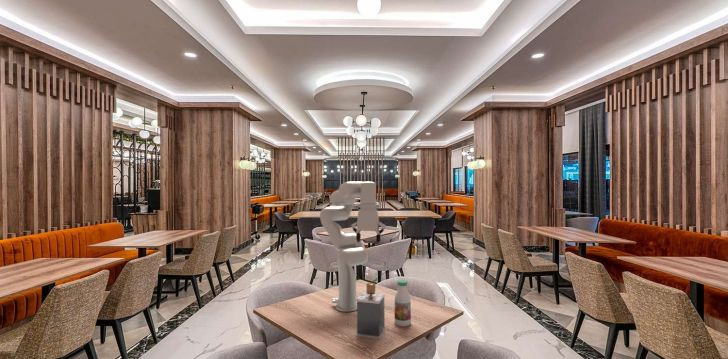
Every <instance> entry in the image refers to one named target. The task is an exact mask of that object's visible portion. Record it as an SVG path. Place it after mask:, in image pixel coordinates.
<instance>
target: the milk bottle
mask: <svg viewBox="0 0 728 359" xmlns="http://www.w3.org/2000/svg"><path fill="white" fill-rule="evenodd" d="M396 290H397V291H396V293H395V295H394V324H395V325H396V326H398V327H409V326H410V325H411V322H412V309H411V308H412V307H411V302H412V301H411V296H410V293H409V291H408V281H407V280H405V279H404V280H403V279H399V280H398V281H397V289H396Z"/></svg>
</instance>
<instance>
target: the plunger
mask: <svg viewBox="0 0 728 359" xmlns="http://www.w3.org/2000/svg"><path fill="white" fill-rule="evenodd" d="M366 292H367V294H369V295H370V297H372V295H373V294H375V293H376V283H375V282H367V283H366Z"/></svg>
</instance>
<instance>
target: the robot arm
mask: <svg viewBox="0 0 728 359" xmlns="http://www.w3.org/2000/svg"><path fill="white" fill-rule="evenodd" d="M376 188H377V186H376V182H374V181H346V182H343V183H341V184H340V185H339V186H338V189H337V190H335V191H332V193H331V194H330V196H329V201H330V204H332V205H334V206H326V207H324V208H322V209H321V210H320V213H319V219H320V222H321V225H322V227H323V229H324V230H325V232H326V233H327V234H328V236H329V239H330V241H331V244H332V246H333V248H334V249H335V250H336V251H338V252H337V254H336V261H337V262H336V263H337V268H338V270H337V271H338V298H336V297H332V299H331V302H332V304H335V309H336V310H337V311H339V312H345V313H348V312H349V313H351V312H355V311H357V301H356V299H357V273H356V271H355V270H354V268H353V267H355V266H356V267H357V266H361V265H364V264H366V263H367V262H368V260H369V254H368V251H367V249H366V247H365V244H364V243H363V241H362V238H361V236H362V235H361V232H362V231H363V232H366V231H367V232H375V233H376V235H375V236H376V237H375V238H376V239H375V240H376V244H379V243H380V242H381V234H382V233H383V232H384V231H385V229H386V227H387V225H385V224H384V223H382V222H381V221H379V220H380V219H379V213H378V209H377V203H376V202H377V201H376V200H377V198H376V197H377V189H376ZM356 197H360V203H359V204H357V207H358V208H359V209H358V212H357V221H355V222H353V223H352V224H350V226H351V229H352V231H353V232H344V230H343V227H341V225H340V224H339V223H337V221H338V222H340V221H346V220H348V219H349V218H350V216H351V213H352V210H353V208H354V204H355V200H356ZM380 227H381V229H379V228H380Z"/></svg>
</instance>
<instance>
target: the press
mask: <svg viewBox="0 0 728 359" xmlns="http://www.w3.org/2000/svg"><path fill="white" fill-rule="evenodd" d="M385 296H386V293H381V292H375V294H373V295H372V297H370V295H369V294H367V291H362V292H361V294H359V296H358V297H356V303H357V310H356V337H361V338H367V339H373V340H374V339H375V340H380V339H381V337H382V336H383V334H384V332H385V330H386V326H385V315H386V314H385Z"/></svg>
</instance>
